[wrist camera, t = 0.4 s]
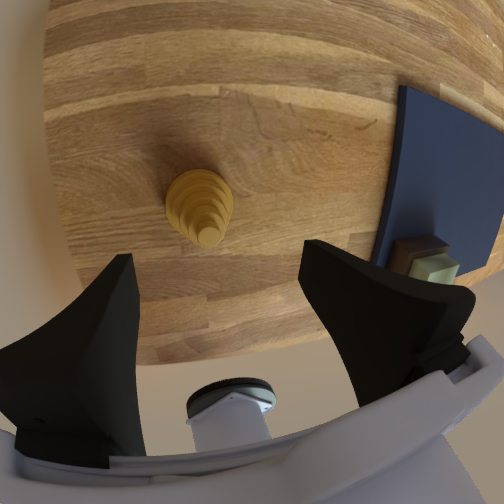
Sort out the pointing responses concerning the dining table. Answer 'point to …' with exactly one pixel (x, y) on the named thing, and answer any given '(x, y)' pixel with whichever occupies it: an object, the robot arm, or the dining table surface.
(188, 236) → the cone
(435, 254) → the block stack
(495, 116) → the dining table surface
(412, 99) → the board
